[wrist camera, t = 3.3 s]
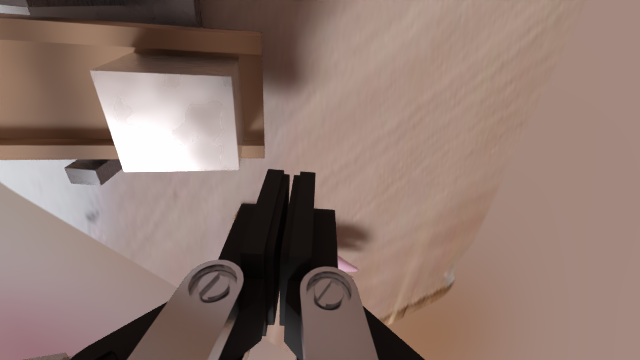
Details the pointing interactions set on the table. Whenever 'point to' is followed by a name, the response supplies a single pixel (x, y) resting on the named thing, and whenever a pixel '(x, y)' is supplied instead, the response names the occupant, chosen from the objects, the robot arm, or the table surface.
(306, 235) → the robot arm
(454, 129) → the table surface
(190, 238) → the table surface
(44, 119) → the balance beam
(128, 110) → the white block
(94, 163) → the pivot stand
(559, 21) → the table surface
